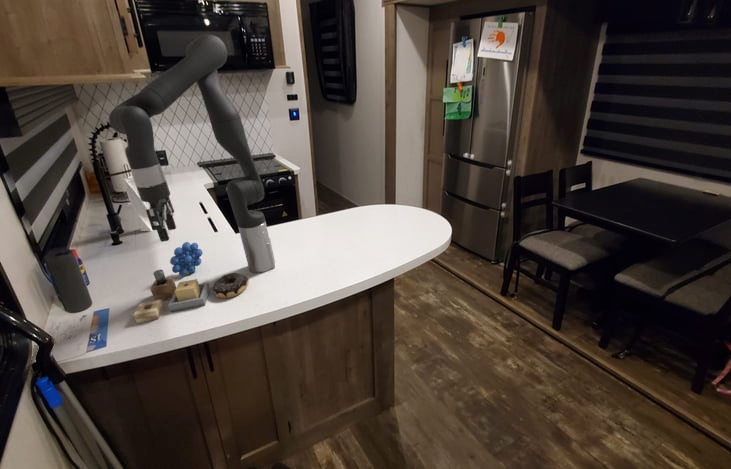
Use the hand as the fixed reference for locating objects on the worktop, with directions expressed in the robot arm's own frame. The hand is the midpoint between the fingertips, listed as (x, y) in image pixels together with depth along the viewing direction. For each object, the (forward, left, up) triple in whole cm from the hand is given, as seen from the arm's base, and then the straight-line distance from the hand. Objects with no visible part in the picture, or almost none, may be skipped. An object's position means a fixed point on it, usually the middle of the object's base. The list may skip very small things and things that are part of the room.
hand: (169, 234), depth 110 cm
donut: (-12, -2, -24) cm, 27 cm away
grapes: (+4, -20, -23) cm, 31 cm away
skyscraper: (+33, -75, -23) cm, 85 cm away
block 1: (+9, -6, -23) cm, 26 cm away
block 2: (0, 0, -22) cm, 23 cm away
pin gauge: (+9, -6, -23) cm, 26 cm away
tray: (0, 0, -23) cm, 23 cm away
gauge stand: (+11, +4, -23) cm, 26 cm away
